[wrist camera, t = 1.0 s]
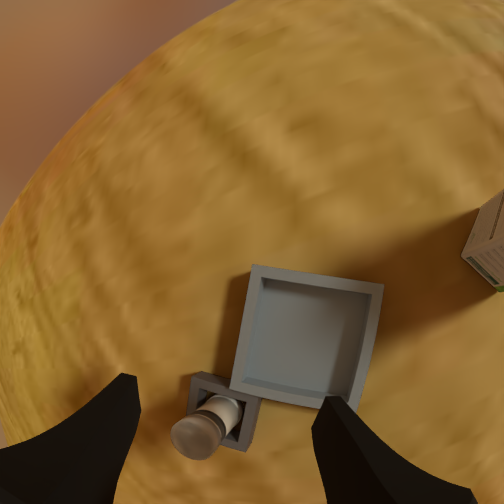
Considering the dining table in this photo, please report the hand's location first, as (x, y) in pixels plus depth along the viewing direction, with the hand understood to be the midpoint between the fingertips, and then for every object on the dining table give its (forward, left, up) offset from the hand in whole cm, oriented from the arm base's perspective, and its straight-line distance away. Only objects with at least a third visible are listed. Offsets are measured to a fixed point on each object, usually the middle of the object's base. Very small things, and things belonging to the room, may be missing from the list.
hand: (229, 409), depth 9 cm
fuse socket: (-6, +3, -13) cm, 14 cm away
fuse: (-6, +3, -13) cm, 14 cm away
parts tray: (+2, -2, -13) cm, 13 cm away
